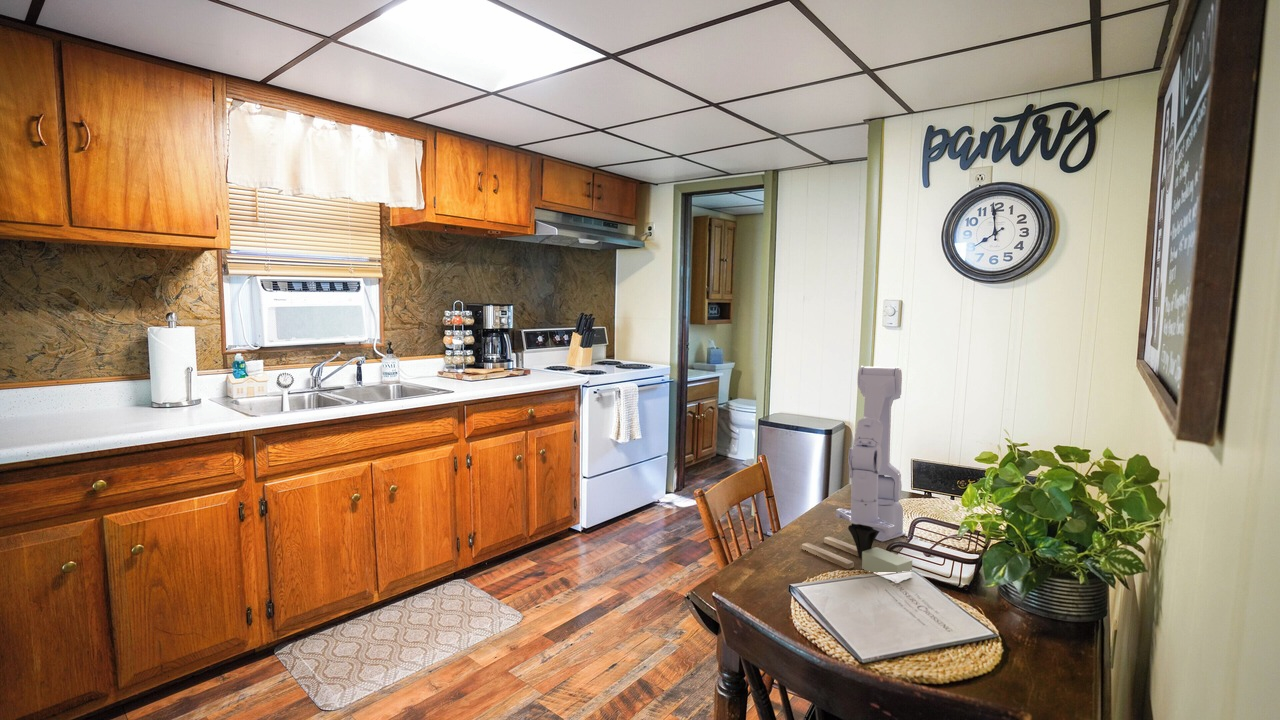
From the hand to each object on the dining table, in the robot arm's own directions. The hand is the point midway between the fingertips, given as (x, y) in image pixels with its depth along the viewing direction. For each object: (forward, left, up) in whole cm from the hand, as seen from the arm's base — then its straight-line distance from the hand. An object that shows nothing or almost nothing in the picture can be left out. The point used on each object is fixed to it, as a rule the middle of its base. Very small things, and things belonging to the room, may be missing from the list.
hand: (863, 556), depth 136 cm
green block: (0, +6, -2) cm, 6 cm away
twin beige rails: (0, -7, -2) cm, 8 cm away
